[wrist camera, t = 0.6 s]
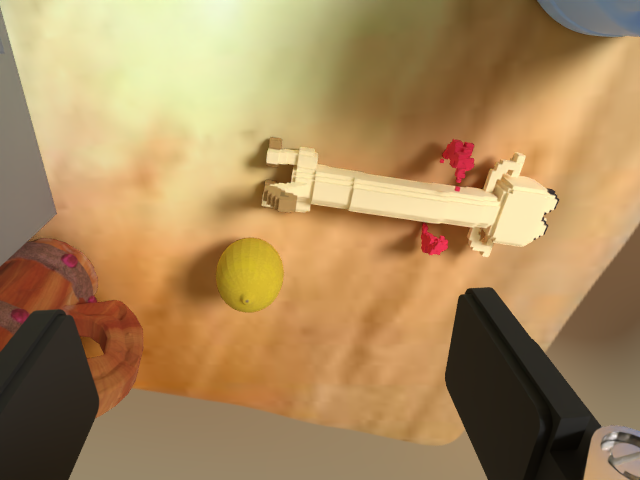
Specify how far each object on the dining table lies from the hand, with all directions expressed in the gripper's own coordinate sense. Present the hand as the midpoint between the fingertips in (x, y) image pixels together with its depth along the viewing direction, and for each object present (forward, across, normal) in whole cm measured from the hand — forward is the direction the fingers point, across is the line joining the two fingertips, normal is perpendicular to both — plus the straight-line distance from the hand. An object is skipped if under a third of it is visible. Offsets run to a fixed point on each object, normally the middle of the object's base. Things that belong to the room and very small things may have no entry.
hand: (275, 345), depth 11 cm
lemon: (+27, +3, +12) cm, 30 cm away
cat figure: (+28, -11, +7) cm, 31 cm away
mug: (+27, +18, +14) cm, 35 cm away
